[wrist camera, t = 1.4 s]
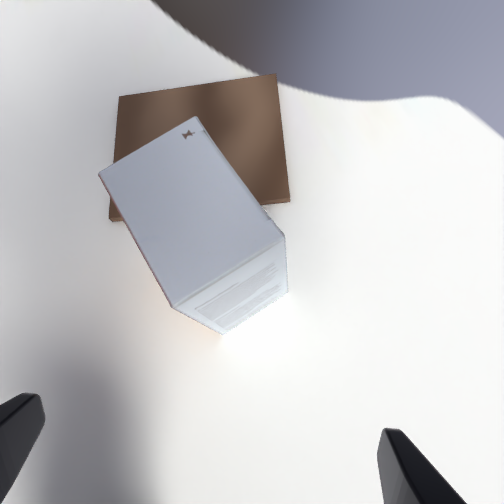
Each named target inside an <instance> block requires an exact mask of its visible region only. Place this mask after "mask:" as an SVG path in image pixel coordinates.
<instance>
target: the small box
mask: <svg viewBox="0 0 504 504" xmlns="http://www.w3.org/2000/svg"><path fill="white" fill-rule="evenodd" d="M98 176H99V177H100V179H101V181H102V183H103V185H104V186H105V188H106V190H107V192H108V193H109V195H110V197H111V199H112V201H113V203H114V204H115V206H116V208H117V210H118V212H119V213H120V215H121V217H122V219H123V221H124V222H125V224H126V226H127V228H128V230H129V231H130V233H131V235H132V237H133V239H134V240H135V242H136V244H137V246H138V248H139V250H140V251H141V253H142V255H143V257H144V259H145V260H146V262H147V264H148V266H149V268H150V269H151V271H152V273H153V275H154V277H155V279H156V280H157V282H158V284H159V286H160V287H161V289H162V291H163V293H164V295H165V296H166V298H167V300H168V302H169V304H170V306H171V307H172V308H173V309H175V310H177V311H179V312H180V313H182V314H184V315H186V316H188V317H190V318H192V319H193V320H195V321H197V322H199V323H201V324H203V325H205V326H206V327H208V328H210V329H212V330H214V331H216V332H218V333H219V334H221V335H224V334H225V333H227V332H228V331H230V330H231V329H233V328H235V327H236V326H238V325H239V324H241V323H242V322H244V321H245V320H247V319H249V318H250V317H252V316H253V315H255V314H256V313H258V312H259V311H261V310H262V309H264V308H265V307H267V306H268V305H270V304H271V303H273V302H274V301H276V300H277V299H279V298H280V297H282V296H283V295H285V294H286V293H287V292H288V281H287V262H286V245H285V235H284V234H283V232H282V231H281V230H280V229H279V228H278V227H277V225H276V224H275V223H274V222H273V221H272V219H271V218H270V217H269V216H268V214H267V213H266V212H265V211H264V209H263V208H262V207H261V205H260V204H259V203H258V202H257V200H256V199H255V198H254V196H253V195H252V193H251V192H250V191H249V189H248V188H247V187H246V185H245V184H244V183H243V181H242V180H241V179H240V177H239V176H238V175H237V173H236V172H235V171H234V169H233V168H232V167H231V165H230V164H229V162H228V161H227V160H226V158H225V157H224V156H223V154H222V153H221V151H220V150H219V149H218V147H217V146H216V145H215V143H214V142H213V140H212V139H211V137H210V136H209V134H208V133H207V131H206V130H205V128H204V127H203V125H202V124H201V122H200V120H199V119H198V117H196V116H194V117H192V118H191V119H189V120H187V121H186V122H184V123H182V124H180V125H179V126H177V127H175V128H173V129H172V130H170V131H168V132H166V133H165V134H163V135H161V136H160V137H158V138H156V139H155V140H153V141H151V142H149V143H148V144H146V145H144V146H143V147H141V148H139V149H138V150H136V151H134V152H132V153H131V154H129V155H127V156H126V157H124V158H122V159H120V160H119V161H117V162H115V163H114V164H112V165H110V166H109V167H107V168H106V169H104V170H102V171H100V172H99V174H98Z"/></svg>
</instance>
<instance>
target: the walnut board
mask: <svg viewBox="0 0 504 504" xmlns="http://www.w3.org/2000/svg"><path fill="white" fill-rule="evenodd" d="M276 78H277V77H276V74H270V75H263V76H256V77H249V78H242V79H235V80H228V81H222V82H215V83H208V84H201V85H194V86H187V87H181V88H174V89H167V90H160V91H153V92H146V93H139V94H133V95H126V96H119V104H118V115H117V127H116V138H115V150H114V161H113V164H114V163H115V162H117V161H119V160H120V159H122V158H124V157H126V156H127V155H129V154H131V153H132V152H134V151H136V150H138V149H139V148H141V147H143V146H144V145H146V144H148V143H149V142H151V141H153V140H155V139H156V138H158V137H160V136H161V135H163V134H165V133H166V132H168V131H170V130H172V129H173V128H175V127H177V126H179V125H180V124H182V123H184V122H186V121H187V120H189V119H191V118H192V117H194V116H196V117H198V119H199V120H200V122H201V124H202V125H203V127H204V128H205V130H206V131H207V133H208V134H209V136H210V137H211V139H212V140H213V142H214V143H215V145H216V146H217V147H218V149H219V150H220V151H221V153H222V154H223V156H224V157H225V158H226V160H227V161H228V162H229V164H230V165H231V167H232V168H233V169H234V171H235V172H236V173H237V175H238V176H239V177H240V179H241V180H242V181H243V183H244V184H245V185H246V187H247V188H248V189H249V191H250V192H251V193H252V195H253V196H254V198H255V199H256V200H257V202H258V203H259V204H260V205H266V204H275V203H284V202H290V193H289V184H288V176H287V167H286V158H285V149H284V140H283V131H282V122H281V113H280V104H279V95H278V86H277V79H276ZM109 219H110V220H111V221H112V222H114V221H123V219H122V217H121V215H120V213H119V212H118V210H117V208H116V206H115V204H114V203H113V201H112V199H111V197H110V207H109Z"/></svg>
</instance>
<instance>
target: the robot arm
mask: <svg viewBox="0 0 504 504" xmlns="http://www.w3.org/2000/svg"><path fill="white" fill-rule="evenodd" d="M44 423H45V413H44V409H43V405H42V401H41V397H40V396H39V395H38V394H33V393H22V394H20V395H18V396H16V397H14V398H12V399H10V400H9V401H7V402H5V403H3V404H1V405H0V504H1V503H2V501H3V500H4V498H5V496H6V495H7V493H8V492H9V490H10V488H11V487H12V485H13V483H14V481H15V479H16V478H17V476H18V474H19V472H20V470H21V468H22V466H23V464H24V462H25V461H26V459H27V457H28V455H29V453H30V451H31V449H32V447H33V445H34V443H35V441H36V439H37V438H38V436H39V434H40V432H41V430H42V428H43V426H44ZM377 461H378V468H379V474H380V480H381V487H382V493H383V499H384V504H467V503H466V502H465V501H464V500H463V499H462V498H461V497H460V496H459V494H458V493H457V492H456V491H455V490H454V489H453V488H452V487H451V485H450V484H449V483H448V482H447V481H446V480H445V479H444V478H443V476H442V475H441V474H440V473H439V472H438V471H437V470H436V469H435V467H434V466H433V465H432V464H431V463H430V462H429V461H428V460H427V458H426V457H425V456H424V455H423V454H422V453H421V452H420V451H419V449H418V448H417V447H416V446H415V445H414V444H413V443H412V442H411V440H410V439H409V438H408V437H407V436H406V435H405V434H404V433H403V432H402V431H401V430H399V429H392V428H384V429H383V431H382V434H381V438H380V442H379V446H378V451H377Z"/></svg>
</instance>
